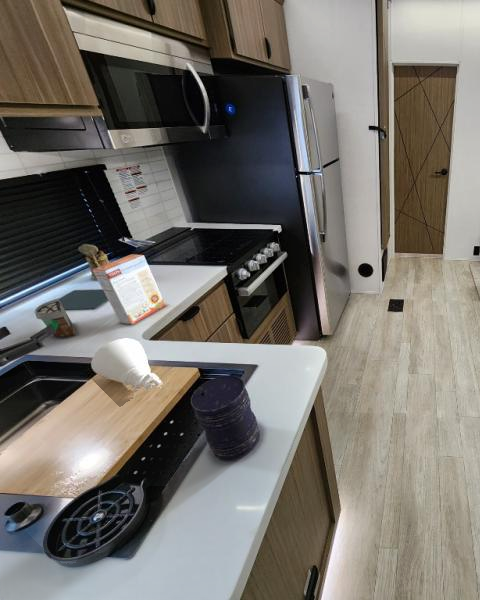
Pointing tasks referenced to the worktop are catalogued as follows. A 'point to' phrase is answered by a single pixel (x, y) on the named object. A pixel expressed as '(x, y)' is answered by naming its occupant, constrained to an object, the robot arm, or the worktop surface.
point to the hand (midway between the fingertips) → (30, 329)
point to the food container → (55, 318)
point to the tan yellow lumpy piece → (93, 257)
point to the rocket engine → (124, 364)
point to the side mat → (83, 299)
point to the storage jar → (226, 417)
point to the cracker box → (130, 288)
